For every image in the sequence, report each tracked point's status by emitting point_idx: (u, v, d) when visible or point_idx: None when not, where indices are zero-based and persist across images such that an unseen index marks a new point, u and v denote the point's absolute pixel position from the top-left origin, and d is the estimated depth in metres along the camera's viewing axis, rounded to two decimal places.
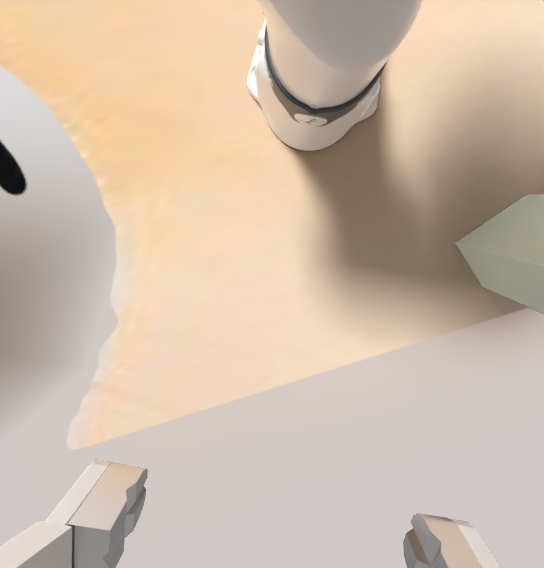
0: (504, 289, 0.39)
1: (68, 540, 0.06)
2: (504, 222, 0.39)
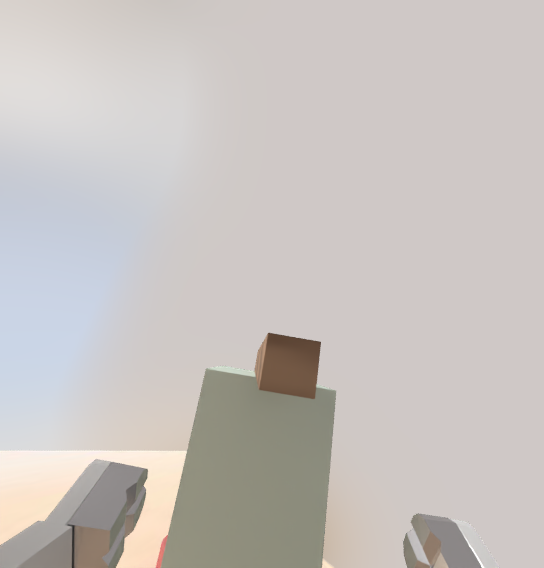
0: None
1: (68, 540, 0.06)
2: None
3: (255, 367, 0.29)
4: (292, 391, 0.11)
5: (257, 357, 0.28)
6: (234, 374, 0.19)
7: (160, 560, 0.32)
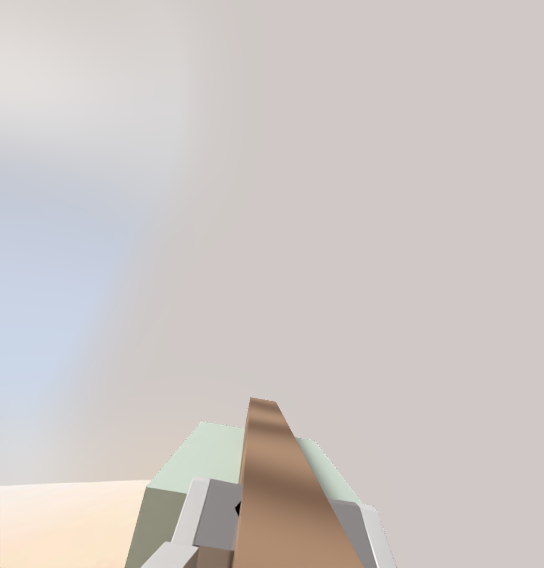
0: None
1: (195, 560, 0.06)
2: None
3: (245, 429, 0.20)
4: None
5: (247, 418, 0.19)
6: None
7: None
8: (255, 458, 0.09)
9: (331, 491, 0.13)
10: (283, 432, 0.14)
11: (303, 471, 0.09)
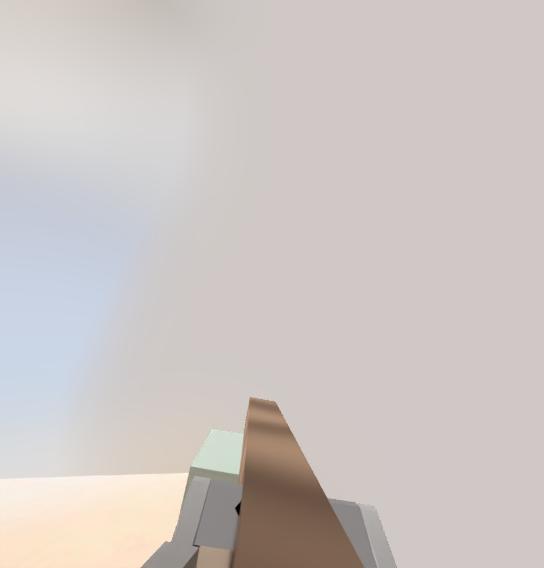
0: None
1: (195, 561, 0.06)
2: None
3: None
4: None
5: None
6: (216, 471, 0.21)
7: None
8: (255, 458, 0.09)
9: None
10: (283, 432, 0.14)
11: (303, 471, 0.09)
